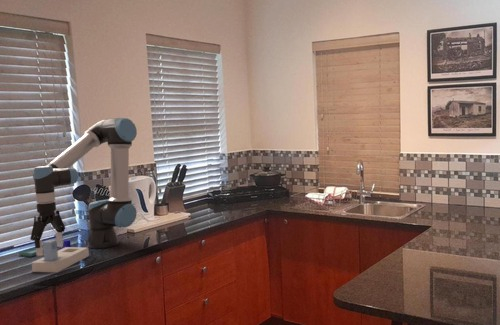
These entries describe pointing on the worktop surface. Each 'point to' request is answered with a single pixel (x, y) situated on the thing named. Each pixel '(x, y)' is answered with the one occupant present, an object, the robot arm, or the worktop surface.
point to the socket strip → (61, 260)
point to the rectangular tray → (30, 251)
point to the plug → (50, 250)
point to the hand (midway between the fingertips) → (50, 250)
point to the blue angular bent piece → (66, 244)
